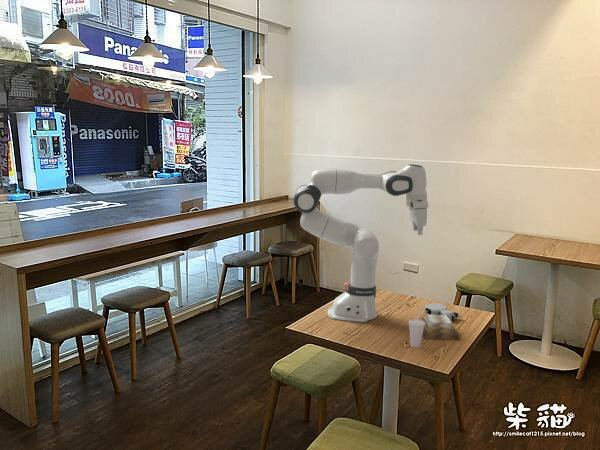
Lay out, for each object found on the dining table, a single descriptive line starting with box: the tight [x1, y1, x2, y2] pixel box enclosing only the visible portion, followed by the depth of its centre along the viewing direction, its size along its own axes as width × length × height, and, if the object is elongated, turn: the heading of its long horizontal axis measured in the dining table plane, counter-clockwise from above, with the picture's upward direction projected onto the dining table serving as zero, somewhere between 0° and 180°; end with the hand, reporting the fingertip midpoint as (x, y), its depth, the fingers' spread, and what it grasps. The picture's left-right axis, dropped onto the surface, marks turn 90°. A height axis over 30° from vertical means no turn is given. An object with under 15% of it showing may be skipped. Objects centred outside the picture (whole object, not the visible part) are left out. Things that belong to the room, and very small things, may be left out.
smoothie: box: [407, 310, 425, 348], centre depth 192 cm, size 6×6×14 cm
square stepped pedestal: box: [421, 313, 460, 341], centre depth 207 cm, size 14×14×6 cm
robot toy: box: [420, 302, 462, 322], centre depth 224 cm, size 12×4×15 cm
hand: (417, 232), depth 218 cm, fingers open, 8 cm apart
